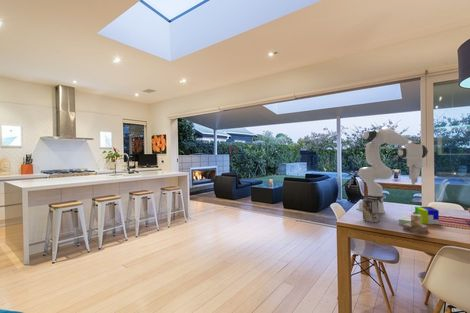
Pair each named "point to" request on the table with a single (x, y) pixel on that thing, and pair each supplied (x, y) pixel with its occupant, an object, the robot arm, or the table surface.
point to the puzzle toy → (428, 215)
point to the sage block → (404, 220)
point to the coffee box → (370, 210)
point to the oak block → (415, 220)
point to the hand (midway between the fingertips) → (414, 183)
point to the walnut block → (415, 228)
